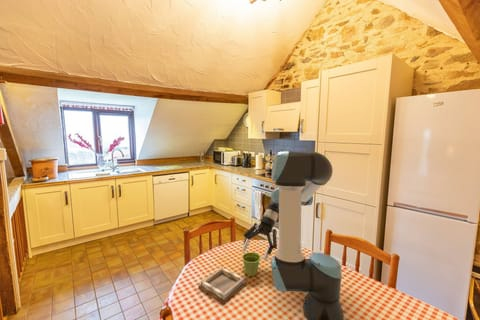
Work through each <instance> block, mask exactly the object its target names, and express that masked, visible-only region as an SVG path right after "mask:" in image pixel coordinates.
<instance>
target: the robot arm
mask: <svg viewBox="0 0 480 320" xmlns="http://www.w3.org/2000/svg"><path fill="white" fill-rule="evenodd" d="M332 176H333V166H332V164H331V162H330V160H329V158H327V157H326V156H325V155H324V154H322V153H320V152H317V151H290V150H288V151H279V152H277V153H275V155H274V158H273V162H272V168H271V180H272V181H273V182H275V187H277V188H275V189H274V190H273V191H272V193H271V195H270V200H269V203H268V205H267V207H266V209H265V212H264V213H263V216H262V218H261V220H260V223H259V224H258V223H257V222H255V223H254V224H253V226H252V227H250V229H248V230H247V231H246V232H245V233H244V234H243V236H244V238H245V239H244V241H243V245H242V247H241V248H242V249H241V251H243V252H244V253H245V252H246V251H247V249H248V246H249V244H250V241H251V239H253V238H254V237H256V236H257V235H259V234H260V235H264V236H266V237H267V242H268V244H269V246H267V248H266V250H265V253H264V255H263V257H262V259H263V260H264V261H266V262H267V260H268V257H269V255H272V251H273V249H275V250H276V251H275V252H274V257H271V258H270V268H271V275H272V280H273V281H272V282H273V285H274V289H276V291H279V292H286V293H288V292H289V293H291V292H293V293H295V292H296V293H297V292H298V293H299V292H301V293H306V295H305V298H304V300H303V302H302V311H303V314H304V316H305V317H306V318H307V320H344V310H343V308H342V303H341V300H340V297H341V283H342V277H343V275H342V266H341V264H340V262H339V260H337V259H336V258H334V257H333V256H331V255H329V254H326V253H323V252H313V253H311V254H310V255H309V258H306V255H305V254H304V253H303V252H302V206H311V205H312V204H313V203H314V194H316V192H317V191H318V190H319V189H320V188H321V186H323V185H326V184H327V183H328V182H329V181H330V180H331V178H332ZM277 219H278V231H277V229H276V228H274V226H275V224H276V222H277ZM271 233H272V236H271ZM277 233H278V240H277ZM271 237H272V238H271ZM277 241H278V242H277Z"/></svg>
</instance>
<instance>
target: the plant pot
mask: <svg viewBox="0 0 480 320" xmlns="http://www.w3.org/2000/svg"><path fill="white" fill-rule="evenodd" d="M241 257H242V258H241V259H242V262H243V265H244V273H245V275H247V276H249V277H254V276H256V275H257V274H258V271H259V270H258V268H259V264H260V261H261V258H262V257H261V255H260V254H258V253H257V252H254V251H251V252H250V251H249V252H246V253H245V252H244V253H243V254H242V256H241Z"/></svg>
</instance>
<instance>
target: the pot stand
mask: <svg viewBox="0 0 480 320" xmlns="http://www.w3.org/2000/svg"><path fill="white" fill-rule="evenodd" d="M247 284H248V282H246V281H245V278H244V277H241V276H240V275H238V274H236V273H234V272H232V271H230V270H229V269H226V267H225V268H224V267H222V266H221V267H220V268H219V269H217V270H216V271H214V272H213V273H211V274H210V275H208V276H207V277H205V278H204V279H202V280H201V281H200V284H199V285H198V289H200V290H201V291H203V292H205V293H206V294H207V295H209V296H211V297H213V298H214V299H215V300H216V301H219V302H220V303H221V304H226V303H228V301H230V299H231V298H233V297H234V296H235V295H236V294H237V293H238V292H240V291H241V290H242V289H243V288H244V287H245V286H246V285H247Z"/></svg>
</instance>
